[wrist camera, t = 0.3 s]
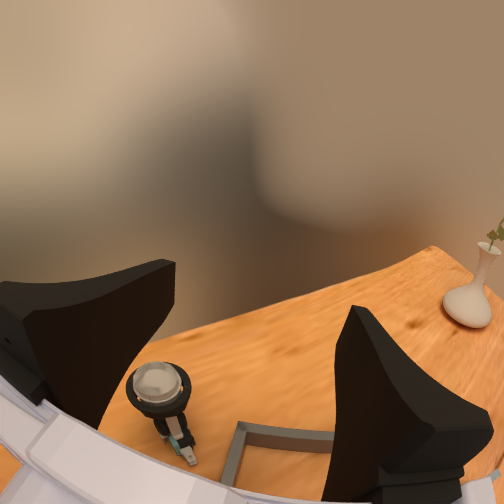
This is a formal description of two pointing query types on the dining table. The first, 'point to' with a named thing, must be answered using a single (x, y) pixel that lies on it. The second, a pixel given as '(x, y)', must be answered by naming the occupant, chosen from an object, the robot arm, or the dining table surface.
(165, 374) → the push button
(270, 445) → the duct bay
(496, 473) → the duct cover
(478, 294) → the flower in vase
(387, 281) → the dining table surface
